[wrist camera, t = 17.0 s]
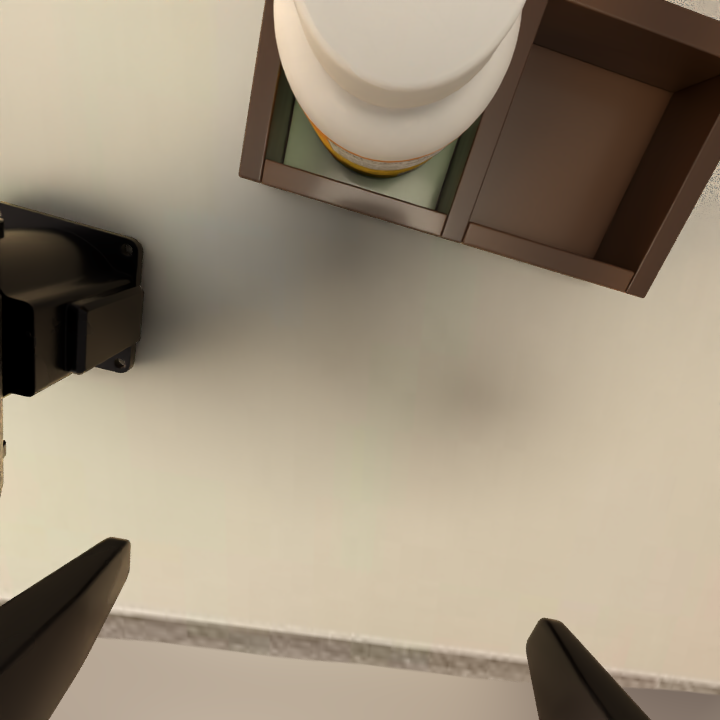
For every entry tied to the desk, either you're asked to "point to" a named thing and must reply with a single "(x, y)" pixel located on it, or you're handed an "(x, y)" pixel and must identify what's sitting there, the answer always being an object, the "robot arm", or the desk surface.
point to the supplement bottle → (394, 73)
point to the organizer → (539, 144)
